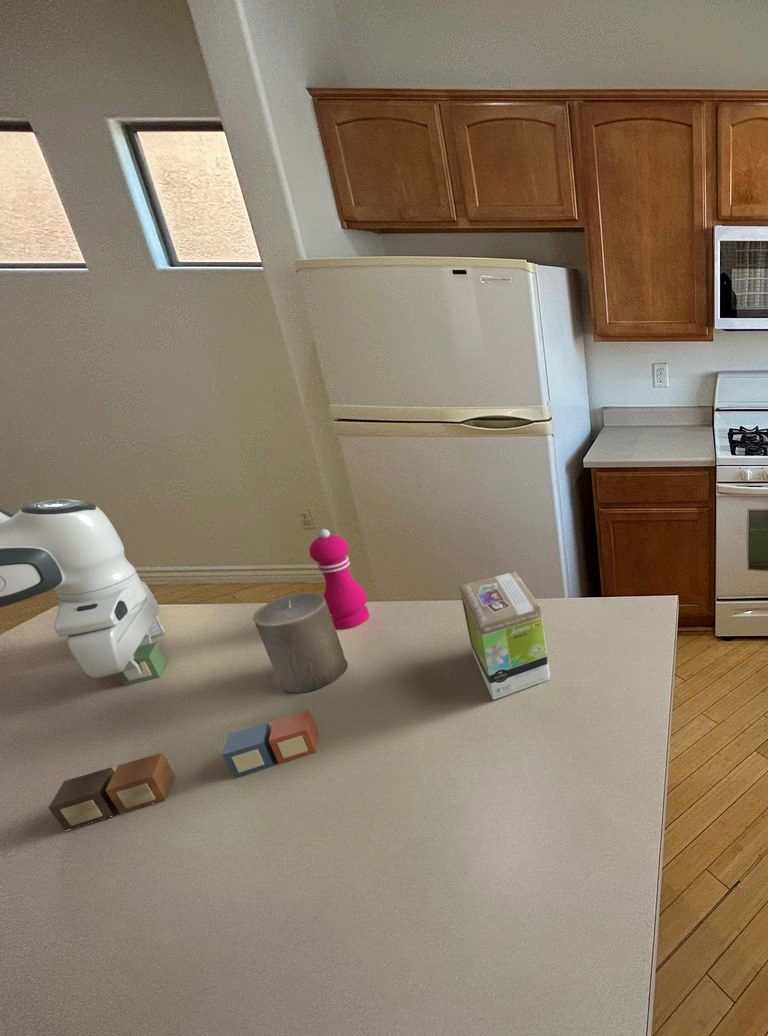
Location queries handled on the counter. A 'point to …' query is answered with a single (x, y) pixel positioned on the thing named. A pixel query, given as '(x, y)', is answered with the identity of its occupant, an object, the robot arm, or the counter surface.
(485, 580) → the tea box
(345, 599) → the pepper mill
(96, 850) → the counter surface
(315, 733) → the terracotta letter block
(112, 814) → the walnut letter block
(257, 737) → the slate blue letter block
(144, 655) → the sage green letter block
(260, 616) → the pillar candle
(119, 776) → the teak letter block
